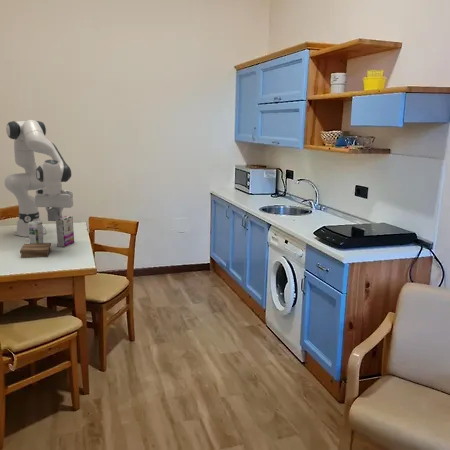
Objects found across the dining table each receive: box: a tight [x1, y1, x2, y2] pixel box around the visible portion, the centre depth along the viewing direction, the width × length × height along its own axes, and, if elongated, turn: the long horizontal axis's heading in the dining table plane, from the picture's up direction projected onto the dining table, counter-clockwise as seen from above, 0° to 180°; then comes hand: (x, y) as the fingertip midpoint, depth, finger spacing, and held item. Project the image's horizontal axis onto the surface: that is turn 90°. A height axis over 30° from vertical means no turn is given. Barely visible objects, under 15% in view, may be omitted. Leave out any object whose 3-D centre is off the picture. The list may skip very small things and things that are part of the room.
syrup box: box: [28, 221, 45, 244], centre depth 273 cm, size 6×6×14 cm
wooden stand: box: [19, 242, 52, 259], centre depth 260 cm, size 14×14×4 cm
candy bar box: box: [55, 215, 75, 248], centre depth 277 cm, size 11×5×16 cm, turn 168°
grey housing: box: [46, 207, 63, 222], centre depth 259 cm, size 10×4×6 cm, turn 179°
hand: (54, 215), depth 259 cm, fingers closed on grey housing, 4 cm apart
